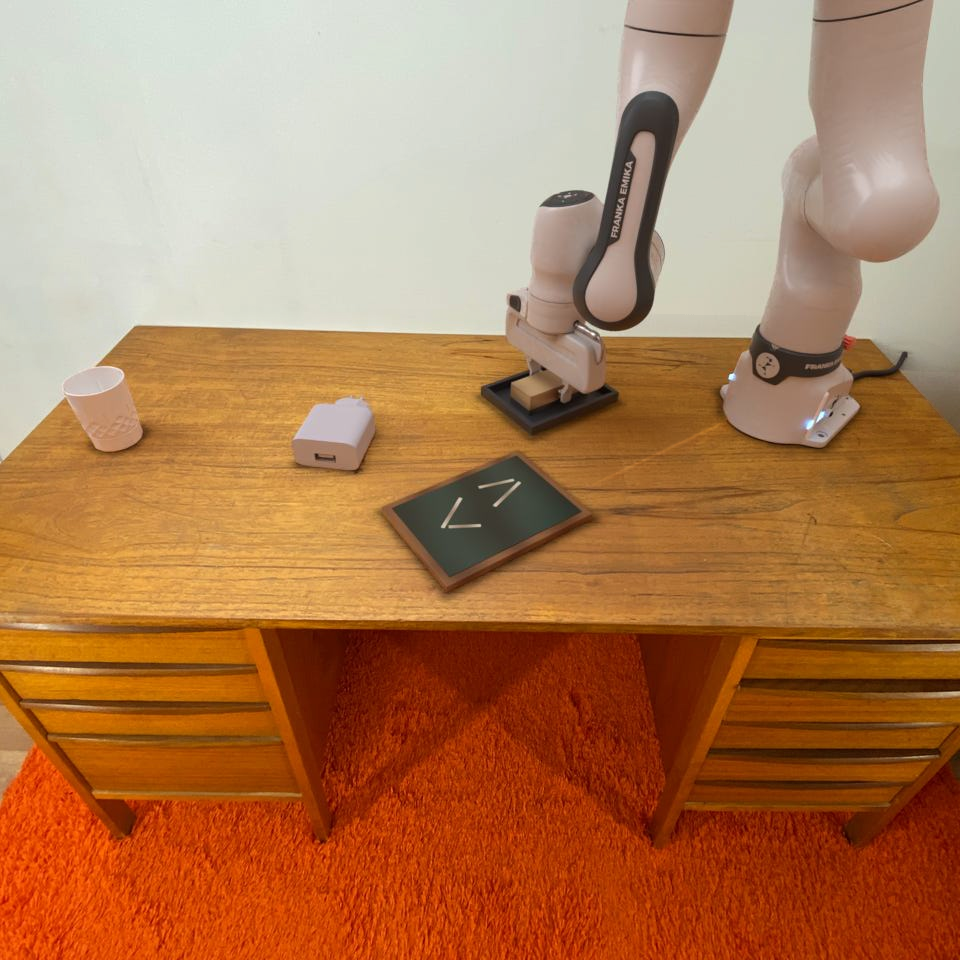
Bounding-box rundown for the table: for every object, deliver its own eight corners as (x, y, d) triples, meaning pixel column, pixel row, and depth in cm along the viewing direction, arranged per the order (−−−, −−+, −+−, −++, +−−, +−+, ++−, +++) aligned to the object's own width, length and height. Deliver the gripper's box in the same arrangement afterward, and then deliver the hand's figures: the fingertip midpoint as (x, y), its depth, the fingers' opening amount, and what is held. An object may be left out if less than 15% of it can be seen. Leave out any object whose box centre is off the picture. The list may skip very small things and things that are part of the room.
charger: (387, 412, 101) (358, 471, 89) (330, 406, 102) (295, 464, 90) (384, 386, 98) (354, 444, 86) (326, 381, 99) (289, 437, 87)
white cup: (159, 431, 96) (136, 373, 90) (116, 460, 91) (89, 401, 84) (120, 418, 99) (96, 361, 92) (77, 446, 93) (47, 387, 87)
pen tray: (563, 367, 112) (564, 356, 110) (617, 403, 103) (619, 392, 102) (480, 397, 104) (480, 386, 103) (531, 438, 96) (532, 427, 94)
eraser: (567, 379, 107) (569, 361, 105) (587, 393, 104) (589, 374, 102) (510, 401, 102) (510, 382, 100) (529, 416, 99) (530, 397, 97)
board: (517, 455, 92) (518, 449, 92) (591, 519, 82) (593, 512, 81) (381, 513, 83) (380, 506, 82) (446, 593, 73) (446, 586, 72)
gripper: (622, 331, 88) (608, 414, 97) (532, 281, 101) (527, 358, 110) (588, 343, 85) (577, 428, 94) (499, 290, 98) (497, 369, 107)
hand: (549, 390), depth 102 cm, fingers open, 5 cm apart
